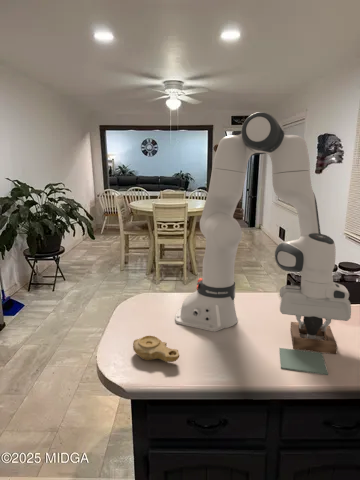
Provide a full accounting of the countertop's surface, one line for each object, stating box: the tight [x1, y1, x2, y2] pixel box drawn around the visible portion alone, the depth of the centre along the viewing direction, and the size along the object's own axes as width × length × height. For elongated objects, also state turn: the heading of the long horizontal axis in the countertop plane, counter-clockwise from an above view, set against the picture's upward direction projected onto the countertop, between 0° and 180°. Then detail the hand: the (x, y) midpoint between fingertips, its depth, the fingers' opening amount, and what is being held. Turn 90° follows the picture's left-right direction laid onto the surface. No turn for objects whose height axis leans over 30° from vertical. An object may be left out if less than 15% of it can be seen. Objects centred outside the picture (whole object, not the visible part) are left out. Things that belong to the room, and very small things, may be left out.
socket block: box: [289, 321, 338, 355], centre depth 103 cm, size 12×12×3 cm
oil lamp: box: [132, 335, 180, 363], centre depth 95 cm, size 11×14×5 cm
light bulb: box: [302, 316, 324, 339], centre depth 102 cm, size 6×6×10 cm
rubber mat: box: [279, 347, 329, 376], centre depth 93 cm, size 12×10×1 cm
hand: (312, 329), depth 102 cm, fingers closed on light bulb, 5 cm apart
